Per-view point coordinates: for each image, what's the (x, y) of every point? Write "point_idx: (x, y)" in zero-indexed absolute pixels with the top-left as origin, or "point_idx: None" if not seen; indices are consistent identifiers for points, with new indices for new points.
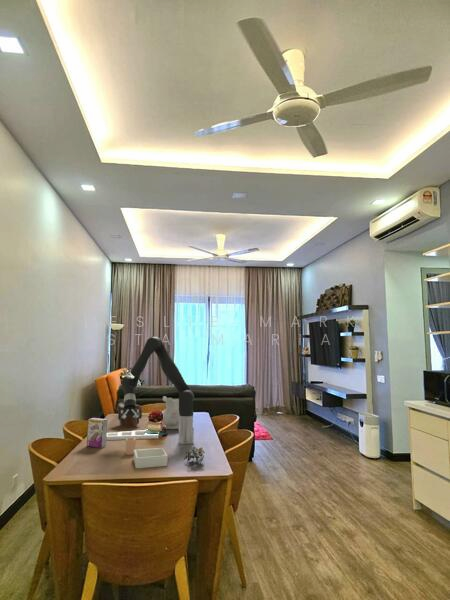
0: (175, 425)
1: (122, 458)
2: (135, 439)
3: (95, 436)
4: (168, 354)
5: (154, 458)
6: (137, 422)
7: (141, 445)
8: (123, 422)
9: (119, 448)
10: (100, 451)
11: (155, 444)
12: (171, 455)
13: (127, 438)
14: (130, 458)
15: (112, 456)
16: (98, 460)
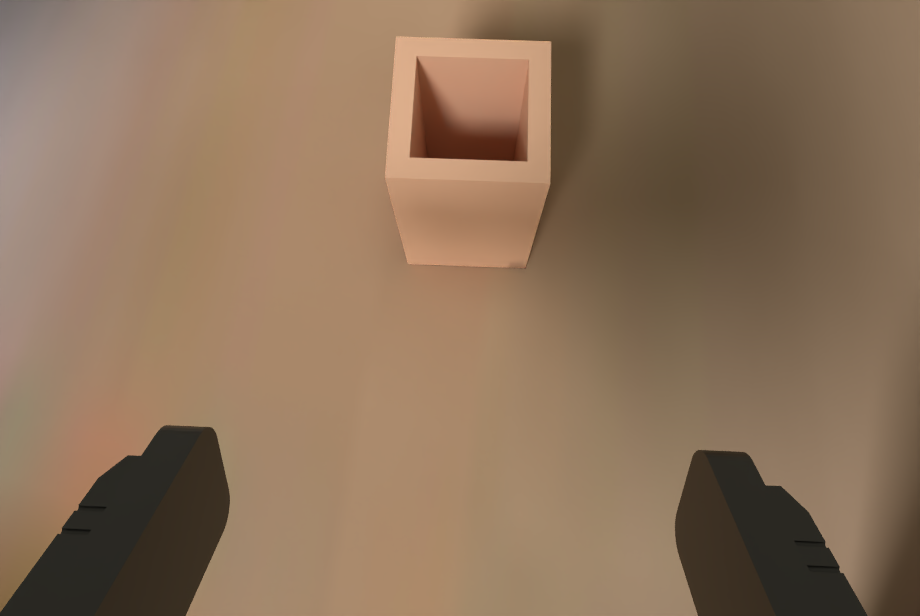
0: None
1: (575, 44)
2: (394, 62)
3: None
4: None
5: None
6: (179, 426)
7: (238, 611)
8: (715, 469)
9: (600, 524)
10: (875, 433)
11: (4, 606)
12: (15, 3)
13: (527, 166)
14: (486, 21)
15: (692, 150)
16: (844, 46)
